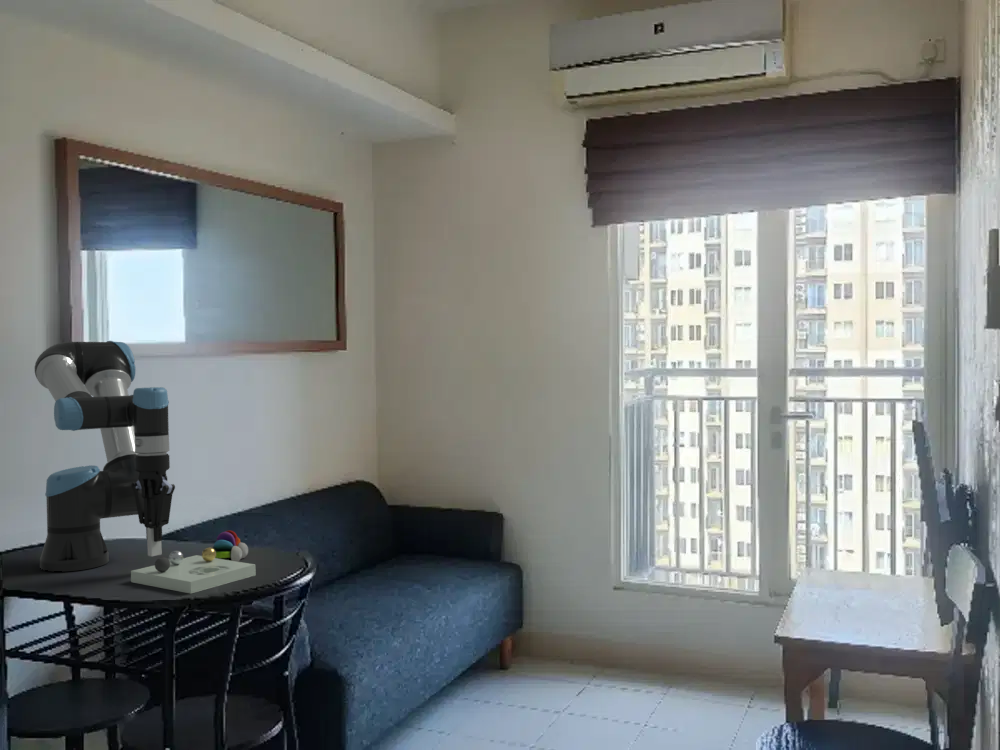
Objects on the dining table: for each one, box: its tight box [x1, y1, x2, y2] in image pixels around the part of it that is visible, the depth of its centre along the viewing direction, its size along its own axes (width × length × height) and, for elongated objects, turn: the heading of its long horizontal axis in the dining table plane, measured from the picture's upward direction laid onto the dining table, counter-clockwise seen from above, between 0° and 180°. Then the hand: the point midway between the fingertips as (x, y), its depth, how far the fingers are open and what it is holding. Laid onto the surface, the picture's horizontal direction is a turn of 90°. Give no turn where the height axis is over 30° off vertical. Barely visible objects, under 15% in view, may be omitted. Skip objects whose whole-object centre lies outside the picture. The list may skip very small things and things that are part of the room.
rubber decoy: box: [154, 556, 170, 572], centre depth 202 cm, size 3×3×3 cm
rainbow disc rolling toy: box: [209, 530, 249, 562], centre depth 224 cm, size 8×10×7 cm
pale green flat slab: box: [130, 554, 257, 594], centre depth 206 cm, size 20×18×2 cm
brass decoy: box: [201, 546, 216, 562], centre depth 212 cm, size 3×3×3 cm
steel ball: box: [168, 550, 185, 565], centre depth 209 cm, size 3×3×3 cm
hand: (154, 554), depth 212 cm, fingers closed
